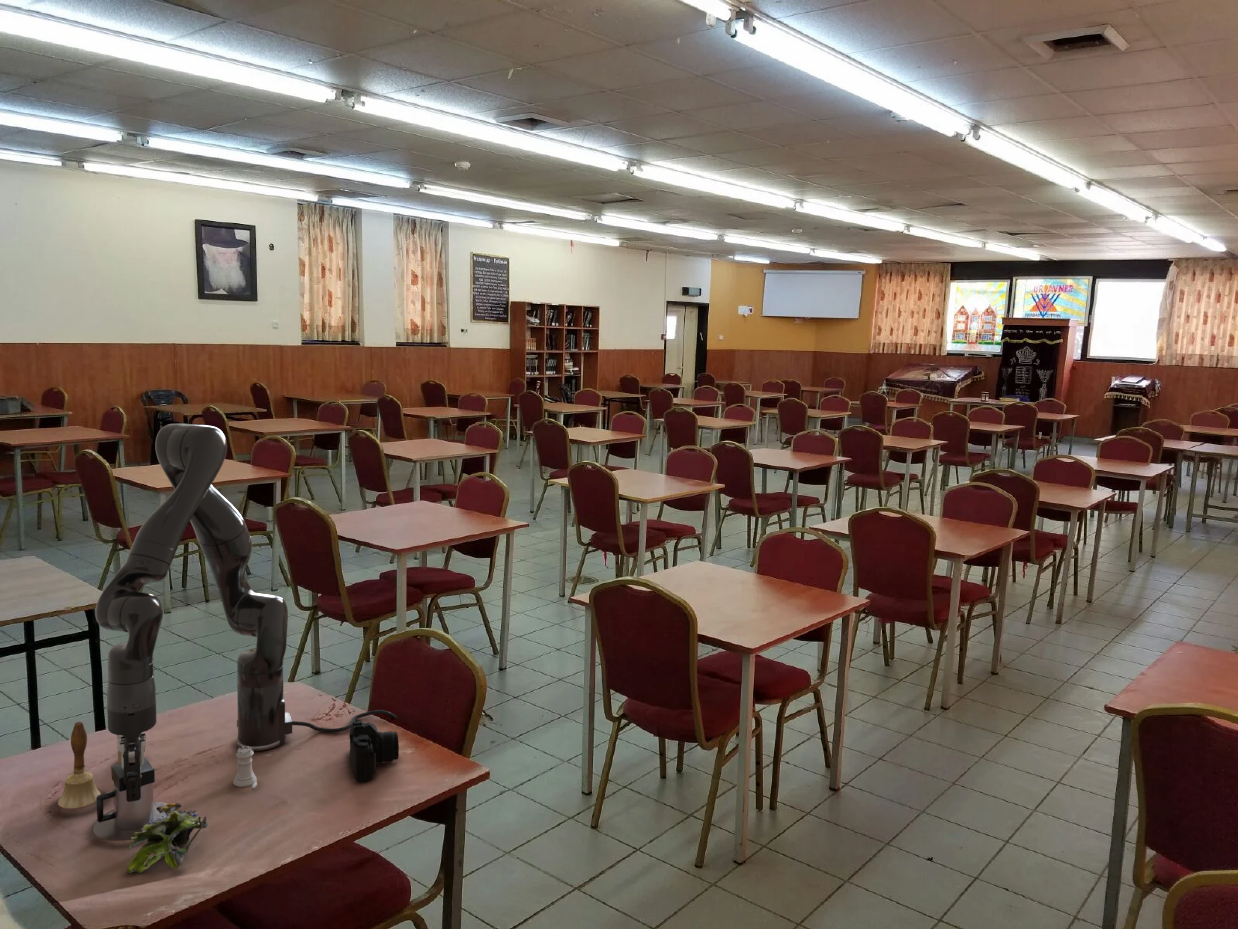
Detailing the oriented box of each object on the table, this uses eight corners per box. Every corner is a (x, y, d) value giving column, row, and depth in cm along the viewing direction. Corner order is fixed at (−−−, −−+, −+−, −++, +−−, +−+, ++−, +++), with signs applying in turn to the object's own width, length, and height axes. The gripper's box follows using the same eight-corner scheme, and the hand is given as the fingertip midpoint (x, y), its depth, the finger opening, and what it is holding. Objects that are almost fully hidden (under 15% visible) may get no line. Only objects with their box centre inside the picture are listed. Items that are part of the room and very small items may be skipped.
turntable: (173, 801, 167) (173, 795, 167) (176, 837, 156) (176, 830, 156) (94, 816, 161) (93, 810, 161) (90, 854, 150) (90, 847, 149)
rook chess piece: (262, 784, 175) (262, 746, 174) (245, 795, 171) (245, 756, 169) (244, 780, 176) (243, 742, 175) (227, 790, 172) (226, 751, 171)
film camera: (402, 778, 180) (403, 736, 179) (353, 785, 176) (353, 742, 175) (392, 745, 194) (393, 706, 193) (346, 751, 190) (346, 711, 189)
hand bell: (90, 788, 170) (87, 710, 168) (114, 801, 166) (112, 721, 164) (44, 806, 163) (40, 725, 161) (68, 821, 159) (65, 737, 157)
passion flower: (170, 879, 152) (207, 809, 157) (191, 898, 145) (229, 824, 149) (107, 862, 146) (148, 789, 151) (125, 881, 138) (167, 804, 143)
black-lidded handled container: (148, 807, 162) (147, 756, 161) (158, 822, 158) (156, 769, 157) (93, 823, 156) (91, 770, 155) (101, 839, 152) (100, 784, 151)
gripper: (109, 689, 160) (112, 776, 162) (104, 721, 147) (107, 815, 149) (156, 684, 163) (158, 769, 165) (155, 715, 150) (157, 806, 153)
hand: (134, 790), depth 157 cm, fingers closed on black-lidded handled container, 6 cm apart
